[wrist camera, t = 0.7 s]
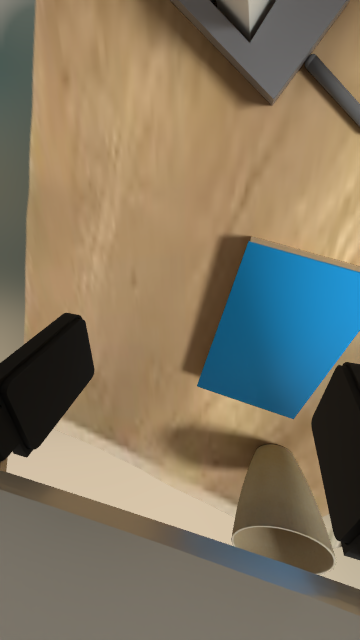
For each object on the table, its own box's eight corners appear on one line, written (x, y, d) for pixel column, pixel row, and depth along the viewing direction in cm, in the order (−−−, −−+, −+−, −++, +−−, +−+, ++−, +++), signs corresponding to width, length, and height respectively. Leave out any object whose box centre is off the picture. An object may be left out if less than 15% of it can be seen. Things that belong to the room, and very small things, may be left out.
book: (196, 387, 43) (245, 242, 29) (201, 369, 47) (247, 233, 33) (298, 421, 41) (402, 284, 27) (295, 400, 45) (386, 269, 31)
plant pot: (315, 480, 53) (335, 584, 40) (242, 472, 58) (238, 563, 45) (314, 432, 47) (338, 538, 33) (232, 428, 52) (224, 520, 38)
